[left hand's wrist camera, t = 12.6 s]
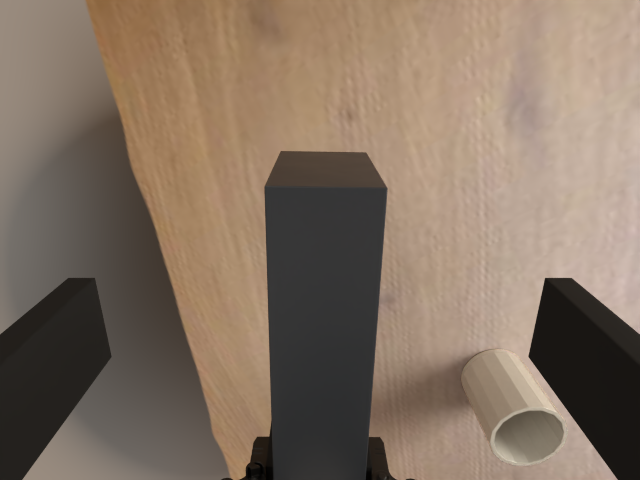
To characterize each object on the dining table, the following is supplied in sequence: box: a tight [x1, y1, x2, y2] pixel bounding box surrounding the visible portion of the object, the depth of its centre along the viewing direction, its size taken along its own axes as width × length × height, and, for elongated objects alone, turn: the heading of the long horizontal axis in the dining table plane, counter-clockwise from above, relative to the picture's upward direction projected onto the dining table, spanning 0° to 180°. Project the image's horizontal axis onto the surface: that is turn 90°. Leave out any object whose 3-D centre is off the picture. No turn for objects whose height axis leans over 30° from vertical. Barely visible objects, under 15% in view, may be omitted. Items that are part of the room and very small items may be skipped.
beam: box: [265, 151, 387, 480], centre depth 28 cm, size 24×6×9 cm, turn 179°
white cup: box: [461, 349, 568, 466], centre depth 45 cm, size 7×7×9 cm
